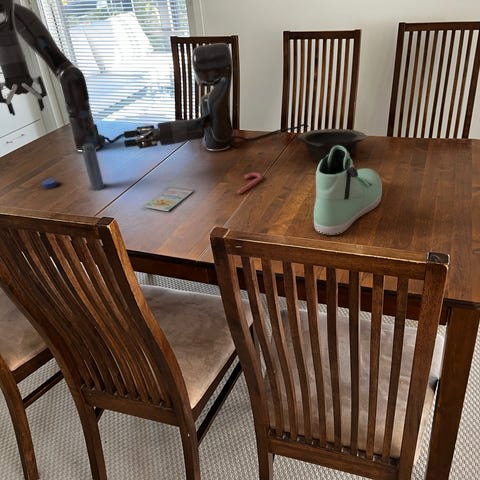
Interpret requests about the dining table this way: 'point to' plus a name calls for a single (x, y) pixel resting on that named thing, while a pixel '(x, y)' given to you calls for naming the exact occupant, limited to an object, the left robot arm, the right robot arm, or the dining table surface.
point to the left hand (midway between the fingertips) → (28, 112)
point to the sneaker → (343, 192)
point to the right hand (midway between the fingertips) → (124, 139)
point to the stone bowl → (330, 141)
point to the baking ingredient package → (168, 199)
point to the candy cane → (250, 182)
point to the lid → (49, 183)
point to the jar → (92, 166)
